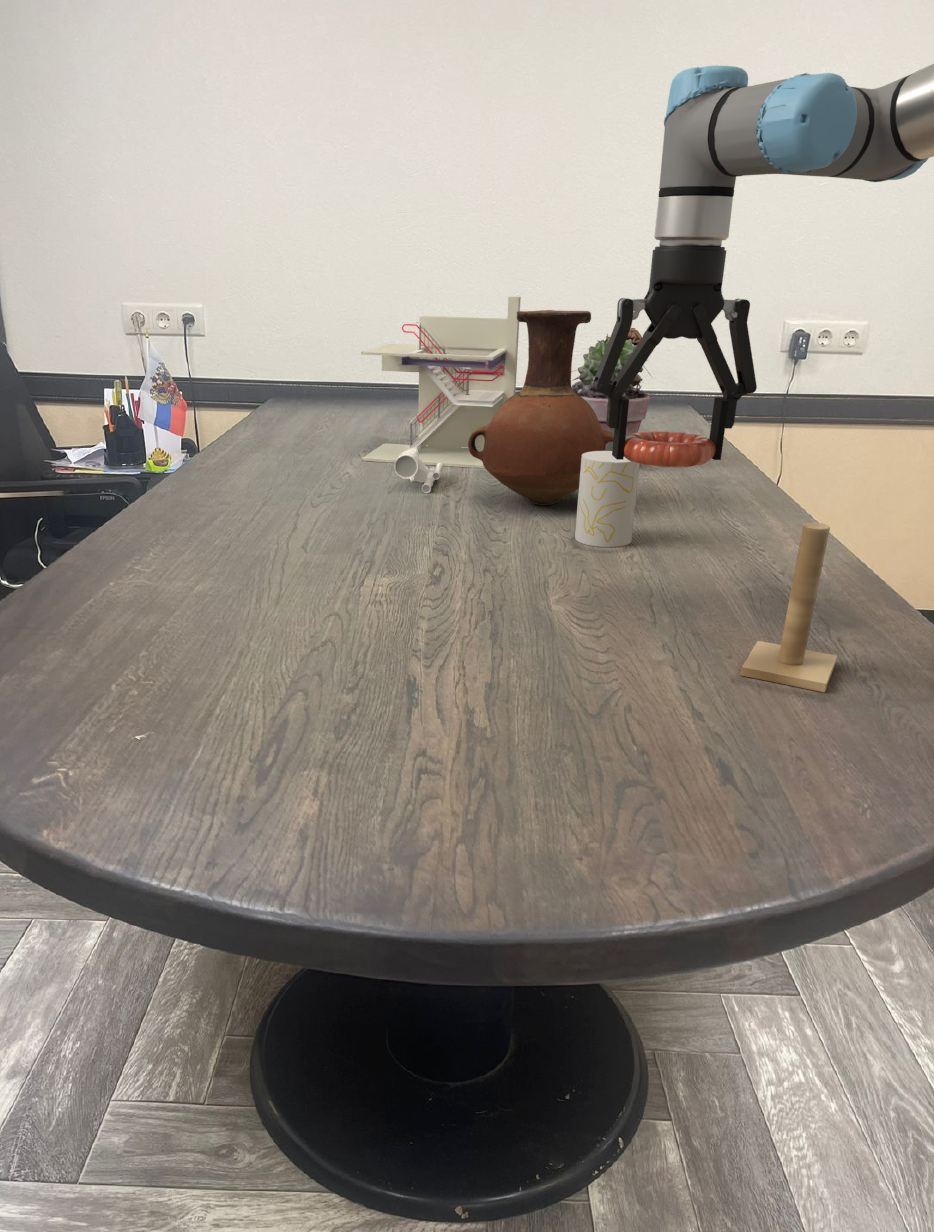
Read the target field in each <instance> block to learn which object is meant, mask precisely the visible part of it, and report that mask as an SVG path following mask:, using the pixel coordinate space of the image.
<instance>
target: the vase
mask: <svg viewBox="0 0 934 1232" xmlns="http://www.w3.org/2000/svg"><path fill="white" fill-rule="evenodd" d="M517 320H518V321H519V323H526V328H527V339H528V340H527V341H528V351H527V352H528V353H527V354H528V355H527V356H528V361H527V369H526V374H525V380H524V383H523V386H522V388H521V390H519V391H518V392H515V394H514V395H513V396H512V397H510V398H509V399H508V400H506V401H505V402H504V403H503V404H502V405H501V406H500V408H499V409H498V410H497V412H496V413H495V415H494V416H493V418H492V420H491V422H490V423H489V424H488V425H487V426H483V427H480V428H477V429H476V430H475V431H474V432H473V433H472V434H471V436H470V438H469V442H468V448H469V451H470V454H471V455H472V456H473V457H475V458H477V459H480V460H481V461H482V462H483V466H484V467H485V468H484V470H486V471H487V473H489V474H490V475H491V476H492V477H493V478H495V479H496V480H497V481H498V482H500V484H502V485H504V486H505V487H506V488H508V489H509V490H510V491H513V492H514V493H516V494H518V495H519V496H521V497H523V498H525V499H526V500H527V501H529V502H531V503H533V504H535V505H539V506H551V505H554V504H557V503H558V502H560V501H561V500H562V499H564V498H567V496H569V495H570V494H572V493H574V492H576V491H579V482H580V470H581V458H582V454H583V453H586V452H592V451H606V448H605V446H606V444H607V443H608V442H611V441H612V442H613V438H614V433H612V432H609V431H606V430H603V429H602V428H601V426H600V423H599V420H598V418H597V416H596V414H595V412H594V410H593V409H592V407H591V406H590V405H589V404H588V403H587V401H586V400H584V399H583V398H582V397H581V396H579V395H578V394H577V393H575V392H574V391H573V389H572V368H573V367H572V365H573V356H574V355H573V354H574V348H575V342H576V334H577V328H578V326H579V325H581V324H589V323H590V322H591V321H592V313H591V311H589V310H556V309H555V310H554V309H543V310H540V309H539V310H520V311H517ZM479 435H483V436H484V440H485V442H484V449H483V451H480V452H479V451H478V450H477V449H476V446H475V439H476V438H477V436H479Z"/></svg>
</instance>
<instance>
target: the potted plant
mask: <svg viewBox="0 0 934 1232" xmlns="http://www.w3.org/2000/svg"><path fill="white" fill-rule="evenodd" d="M610 337H611V336H609V334H608V333H606V336H605V339H601V340H598V339H597V340H596V341H597V342H596V343H595V345H594V346H592V345H590V347H589V348H588V352H587V353H584V354H582V357H583V364H582V365H581V366H579V367H577V369H575V370H571V373H573V372H575V371H577V372H578V373H579V376H577V377H575V378H574V379H571V382H572V381H573V382H574V381H575V380H579V381H575V382H574V383H573V384H571V387H572V389H573V391H574V392H575V393H577V394H578V395H579V396H581V397H582V398H583V399H584V400H586V401H587V403H588V404H589V405H590V406H591V407H592V409H593V410H594V412H595V414H596V416H597V418H598V420H599V423H600V426H601V428H602V429H603V430H606V431H609V432H612V433H614V428H609V427H608V426H607V423H606V417H607V406H608V397H607V395H605V394H603V393H600V392H598V391H597V390H595V389H594V388H593V381H594V379H595V376H596V373H597V371H598V368H599V365H600V363H601V360H602V358H603V355H604V352H605V350H606V347H607V345H608V342H609V339H610ZM642 337H643V335H642V334H641V333H640V332H639V330H638V329H636V328H635V327H631V328H630V331H629V334H628V336H627V339H626V342H625V344H624V347H623V349H622V352H621V354H620V357H619V359H618V362H617V365H616V367H615V370H614V372H613V375H612V377H611V380H610V384H612V382H613V381H614V379H615V378H616V376H617V375H618V373H619V372H620V370H621V369H622V367H623V366H624V364H625V363H626V361H627V360H628V358H629V357H630V356H631V354H632V353H633V351H634V350H635V348H636V347H637V345H638V344H639V342H640V341H641V339H642ZM646 362H648V359H647V360H646ZM644 368H645V371H647V373H648V374H649V375H650V376H651V378H653V376H652V375H651V374H650V372H649V371H648V369H647V368H646V367H645V365H643V366H642V368H641V369H640V371H639V372H638V374H637V375H636V377H635V378H634V380H633V381H632V382H631V384H630V385H629V387H628V388H627V390H626V391H625V393H624V394H623V396H622V397H625V398H627V399H628V400H629V407H628V417H627V428H626V436H628V435H630V434H632V433H637V432H639V430H640V427H641V424H642V422H643V420H645V419H646V418H647V412H648V408H649V404H650V399H651V396H649V395H652V396H653V394H651V393H650V394H649V393H645V392H643V390H641V389H642V384H641V383H642V382H643V378H642V376H641V375H640V374H639V373H642V372H643V371H644ZM646 384H649V383H646ZM657 395H658V394H657ZM658 397H659V395H658ZM605 448H606V451H612V449H613V442H612V441H611V442H608V443H607V444H606V446H605Z"/></svg>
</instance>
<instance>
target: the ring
mask: <svg viewBox="0 0 934 1232" xmlns="http://www.w3.org/2000/svg"><path fill="white" fill-rule="evenodd" d="M715 452H716V447H715V444H714V443H713V442H712V441H711V440H709V438H707V437H706V436H704V435H701V434H695V433H691V432H682V431H671V430H669V431H668V430H648V431H638V432H637V433H632V434H630V435H628V436H626V438H625V448H624V457H625V458H626V459H627V460H629V461H631V462H635V463H639V464H640V465H643V466H651V467H660V468H690V467H696V466H703V465H705V464H707V463H708V462H710V461H711V460H713V459H712V458H713V457H714V455H715Z"/></svg>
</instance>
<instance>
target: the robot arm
mask: <svg viewBox="0 0 934 1232" xmlns="http://www.w3.org/2000/svg"><path fill="white" fill-rule="evenodd" d="M663 126H664V127H663V128H664V132H663V142H662V155H661V163H660V164H661V165H660V174H659V185H658V186H659V187H658V189H659V190H658V196H657V197H658V200H657V208H656V217H655V218H656V219H655V227H654V235H653V237H654V239H655V240H656V241H659V242H658V245H659V246H655V247H654V249H653V250H652V255H651V265H650V274H649V286H648V290H647V293H646V294H645V295H644V298H628V297H621V298H619V299H618V301H617V308H616V311H617V312H616V321H615V324H614V326H613V329H612V331H611V334H610V336H609V337H610V339H609V342H608V345H607V347H606V350H605V352H604V355H603V358H602V360H601V363H600V365H599V368H598V371H597V373H596V376H595V379H594V381H593V388H594V389H595V390H597V391H598V392H600V393H603V394H605V395H607V397H608V406H607V417H606V423H607V426H608V427H609V428H614V438H613V449H612V456H614V457H615V458H616V459H617V460H623V459H624V448H625V438H626V428H627V417H628V407H629V400H628V399H627V398H625V397H622V396H623V394H624V393H625V391H626V390H627V388H628V387H629V385H630V384H631V382H632V381H633V380H634V378H635V377H636V375H637V374H638V375H639V373H640V372H639V371H640V369H641V368H643V366H645V363H646V362H647V361H648V360H649V358H650V356H651V355H652V354H653V352H654V351H655V349H656V347H657V346H658V345H659V344H660V343H661V342H662V340H663V339H668V340H670V339H671V340H675V339H679V338H685V339H690V340H696V341H697V342H698V343H699V345H700V346H701V349H702V351H703V353H704V356H705V358H706V361H707V363H708V364H709V368H710V369H711V371H712V374H713V376H714V379H715V380H716V382H717V385H718V387H719V389H720V392H721V394H722V396H717V397H716V396H715V397H714V401H713V406H712V407H713V408H712V417H711V423H710V431H709V438H708V439H709V440H711V441H712V442H713V443H714V444H715V447H716V452H715V455H714V457H713V458H712V459H711V460H713V461H722V454H723V446H724V439H725V431H726V430H727V429H731V430H732V429H733V427H734V425H735V418H736V413H737V405H738V401H739V400H740V399H741V398H742V397H743V396H746V395H749V394H754V393H755V392H756V391H757V388H758V387H757V386H758V385H757V379H756V372H755V365H754V359H753V352H752V347H751V346H752V345H751V340H750V333H749V327H748V320H749V315H750V314H749V313H750V309H751V303H750V300H748V299H745V298H735V299H725V298H724V296H723V291H722V287H723V282H724V275H725V274H724V273H725V267H726V257H727V251H728V250H726V247H725V246H722V243H723V241H726V240H727V239H728V238H729V236H730V229H731V228H730V226H731V217H732V211H733V202H734V197H735V187H736V181H737V177H743V176H761V175H763V176H764V175H787V176H788V175H790V176H802V177H803V176H804V177H805V176H806V177H807V176H808V177H820V178H821V177H822V178H823V177H824V178H836V179H849V180H860V181H864V182H865V181H866V182H870V183H881V182H886V181H898V180H902V179H904V178H907V177H909V176H911V175H913V174H914V173H916V172H917V171H918V170H919V169H920V168H921V167H922V166H923V165H924V164H925V163H926V162H927V161H928V160H929V159H930V158H933V157H934V63H931V64H930V65H927V66H925V67H923V68H920V69H918V70H916V71H915V72H913V73H910V74H907V75H906V76H904V77H901V78H899V79H896V80H895V81H892V82H890V83H888V84H885V85H883V86H879V87H876V88H865V87H858V86H857V87H856V86H850V85H848V84H847V81H846V80H845V78H843V77H842V75H839V74H836V73H833V72H824V73H816V74H815V73H813V74H812V73H811V74H810V73H807V72H805V73H799V74H795V75H794V76H793V77H788V78H784V79H779V80H774V81H769V82H763V83H759V84H754V85H749V74H748V72H747V71H746V70H745V69H744V68H742V67H738V66H735V65H734V66H733V65H707V66H695V67H690V68H686V69H684V70H681V71H679V72H678V73H677V74H676V75H675V76H674V77H673V79H672V80H671V83H670V87H669V93H668V99H667V105H666V112H665V116H664V119H663ZM642 311H644V312H645V314H646V316H647V318H648V320H649V321H650V324H649V325H648V327H647V328H646V330H645V331H644V333H643V334H642V339H641V341H640V342H639V344H638V345H637V347H636V348H635V350H634V351H633V353H632V354H631V356H630V357H629V358H628V360H627V361H626V363H625V364H624V366H623V367H622V369H621V370H620V372H619V373H618V375H617V376H616V378H615V379H614V381H613V382H612V384H610V380H611V377H612V375H613V372H614V370H615V367H616V365H617V362H618V359H619V357H620V354H621V352H622V349H623V347H624V344H625V342H626V339H627V336H628V334H629V331H630V328H632V325H633V321H635V320H637V319H638V318H639V315H640V313H641V312H642ZM722 311H723V312H724V317H725V319H726V320H727V321H728V327H729V334H730V340H731V347H732V353H733V359H734V360H733V361H734V365H735V371H736V378H737V382H736V380H735V378H734V375H733V372H732V371H731V369H730V366H729V364H728V362H727V360H726V357H725V355H724V353H723V350H722V348H721V346H720V344H719V341H718V337H717V333H716V331H715V329H714V327H713V325H712V323H713V322H714V321H715V320H716V318H717V317H718V316H719V315H720V313H722ZM646 360H647V361H646ZM638 372H639V373H638Z"/></svg>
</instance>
